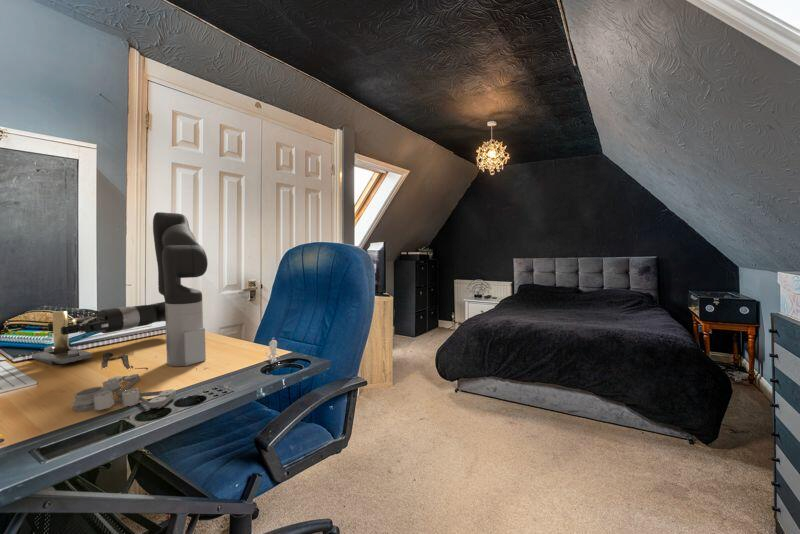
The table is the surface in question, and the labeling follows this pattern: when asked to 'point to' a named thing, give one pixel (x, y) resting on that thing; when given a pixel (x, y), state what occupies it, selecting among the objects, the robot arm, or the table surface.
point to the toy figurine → (273, 350)
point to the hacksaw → (125, 358)
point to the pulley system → (118, 395)
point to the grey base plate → (61, 356)
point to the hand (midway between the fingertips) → (54, 329)
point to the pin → (59, 339)
